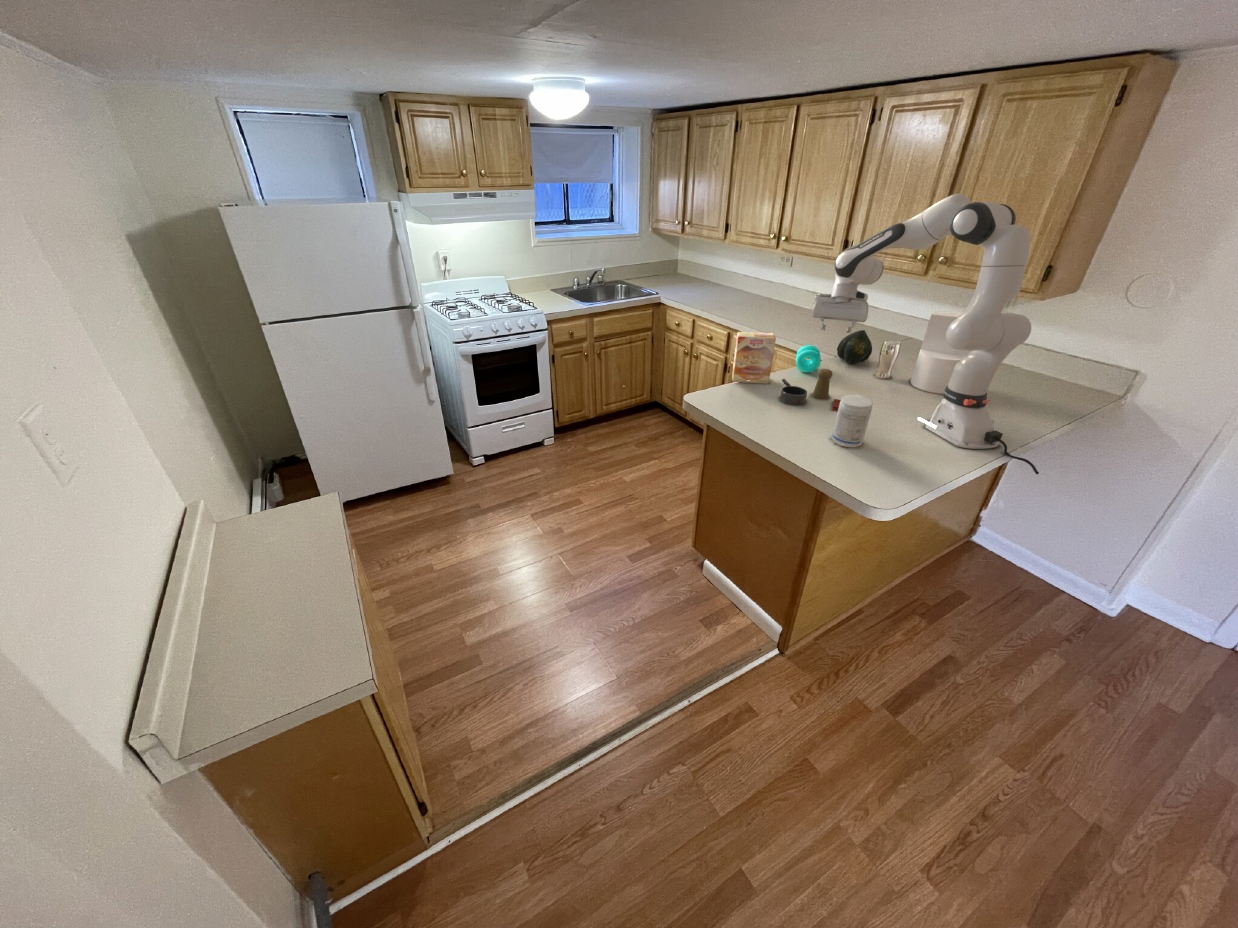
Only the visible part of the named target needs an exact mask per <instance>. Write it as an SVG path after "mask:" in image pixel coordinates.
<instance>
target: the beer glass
mask: <svg viewBox="0 0 1238 928" xmlns="http://www.w3.org/2000/svg"><path fill="white" fill-rule="evenodd" d="M901 345H902V343H901V342H900V341H898V340H894V339H885V340H883V342H882V345H881V348H880V351H879V357H878V367H877V370H876V372H875V373H874V376H875V378H878V379H881V380H889V379H891V377H892V370H893V367H894V365H895V363H896V361H897V359H898V357H899V354H900V350H901Z"/></svg>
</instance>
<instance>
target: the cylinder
mask: <svg viewBox="0 0 1238 928" xmlns="http://www.w3.org/2000/svg"><path fill="white" fill-rule="evenodd" d="M962 313H963V312H959V311H958V312H957V311H934V312H932V313H931V314H930V318H929V320H928V324H927V327H926V330H925V334H924V337H923V340H922V344H921V346H920V350H919V353H918V356H917V358H916V361H915V362H916V363H915V365H914V369H913V372H912V375H911V378H910V385H912V387H915V388H916V389H919V390H921V391H924V392H928V393H932V394H933V393H934V394H942V395H943V393H944V390H945V388H946V386H947V385H948V384H949V381H950V378H951V375H952V373H953V370H954V367H955V365H956V364H957V363H958V362H959V361H960V360H961V359H963V358H964V357H966V356H967V355H968V354H969V353H970V352H971V351H964V350H958V349H954V348H952V347H951V346H950V345H949V344H948V342H947V339H946V332H947V329H948V327H949V325H950V324H951V323H952V322H953V321H954V320H955V319H957V318H958V317H959V316H960V315H961V314H962Z"/></svg>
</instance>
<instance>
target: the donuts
mask: <svg viewBox="0 0 1238 928" xmlns="http://www.w3.org/2000/svg"><path fill="white" fill-rule="evenodd" d="M795 359H796V360H795V364H796V368H797V369H798V370H799V371H801V372H803V373H807V374H808V373H813V372H815V371H816V370H817V369H819V367H820V365H821V351H820V349H819V348H818V347H816V346H815V345H813V344H807V345H803V346H801V347H800V348H799V349H798V350H797V352H796V355H795Z"/></svg>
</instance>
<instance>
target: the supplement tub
mask: <svg viewBox="0 0 1238 928" xmlns="http://www.w3.org/2000/svg"><path fill="white" fill-rule="evenodd" d="M840 400H841V401H840V405H839V409H838V411H837V413H836V417H835V421H834V425H833V430H832V435H831V439H832V441H833V442H834V443H835V444H837V445H838V446H842V447H846V448H857V447H859V446H861V445H862V444H863V441H864V440H865V439H864V438H865V435H866V431H867V427H868V424H869V420H870V416H871V413H872V410H873V405H874V403H873V401H872V400H871V398H870V399H869V398H868V397H866V396H863V395H858V394H850V395H849V394H848V395H847V394H846V395H843V396H842V397H841V399H840Z"/></svg>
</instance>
